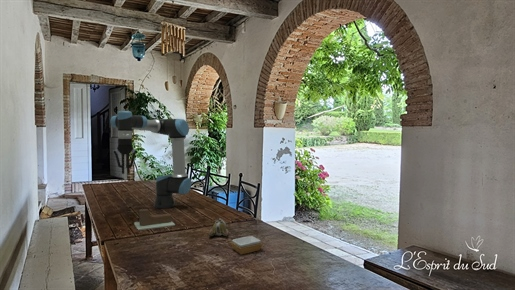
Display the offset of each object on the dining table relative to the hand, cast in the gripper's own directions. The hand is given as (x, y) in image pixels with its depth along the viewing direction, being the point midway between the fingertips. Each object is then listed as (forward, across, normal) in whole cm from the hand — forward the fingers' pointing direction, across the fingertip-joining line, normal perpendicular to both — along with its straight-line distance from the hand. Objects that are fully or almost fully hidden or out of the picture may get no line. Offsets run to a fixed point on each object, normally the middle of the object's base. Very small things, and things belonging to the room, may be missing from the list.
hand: (125, 179), depth 186 cm
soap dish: (+29, +46, -62) cm, 83 cm away
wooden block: (+23, +8, 0) cm, 24 cm away
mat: (+28, +16, 0) cm, 32 cm away
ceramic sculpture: (+29, +44, -35) cm, 63 cm away
